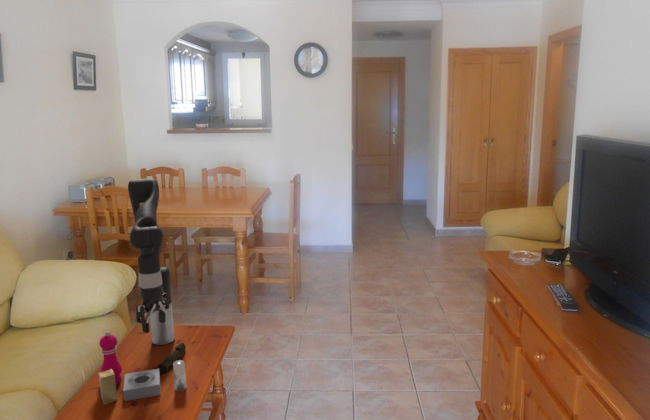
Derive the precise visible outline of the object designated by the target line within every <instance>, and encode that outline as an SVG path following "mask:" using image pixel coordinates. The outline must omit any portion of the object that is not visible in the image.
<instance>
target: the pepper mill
mask: <svg viewBox="0 0 650 420" xmlns="http://www.w3.org/2000/svg"><path fill="white" fill-rule="evenodd" d="M117 344H118V339H117V337H116V335H113V334H111V332H110V331H106V332H105V333H104V335H103V336H102V337H100V339H99V346H100V348H101V354H102V356H103V362H102V365H101V368H100V372H103V371H106V370H110V369H112V370H113V372H114V374H115V382H116V385H118V384H120V383H121V382H122V375H121V373H122V370H123V368H122V365H121V363H120V361H119V360H118V358H117V354H116V353H117Z"/></svg>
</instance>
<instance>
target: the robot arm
mask: <svg viewBox="0 0 650 420" xmlns="http://www.w3.org/2000/svg"><path fill="white" fill-rule="evenodd" d="M127 192H128V196H129V201H130V204H131V209H132V214H133V218H134V225H133V227H132V228H131V231H130V234H129V242H130V245H131V246H132V247H133V248H134V249H138V250H139V254H140V255H138V258H137V267H138V285H139V286H138V287H139V297H140V299H141V300H142V304H141V305H136V306H135V314H136V316H135V317H136V323H137V324H141V328H142V332H143V333H144V334H148V333H150V332H151V340H152V344H154V345H157V346H163V345H164V346H165V345H168V344H170V343H172V342H173V341H174V340H175V329H174V327H175V326H174V315H173V303H172V291H171V290H172V289H171V288H172V287H171V285H172V284H171V271H170V268H169V267H166V266H162V267H161V260H160V254H161V253H160V252H161V249H162V244H163V240H164V232H163V230H162V229H161V228H160V226H159V225H158V222H157V221H158V220H157V212H158V211H157V210H158V207H159V199H160V187H159V183H158V181H157V179H156V178H154V177H153V178H151V177H150V178H138V179H131V180H129V181H128V184H127ZM146 312H147V313H146ZM149 321H150V322H149ZM150 328H151V329H150ZM150 330H151V331H150Z"/></svg>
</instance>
